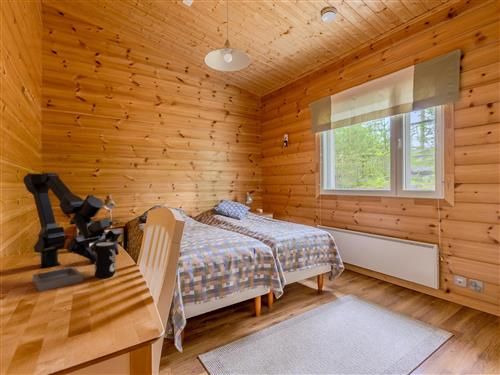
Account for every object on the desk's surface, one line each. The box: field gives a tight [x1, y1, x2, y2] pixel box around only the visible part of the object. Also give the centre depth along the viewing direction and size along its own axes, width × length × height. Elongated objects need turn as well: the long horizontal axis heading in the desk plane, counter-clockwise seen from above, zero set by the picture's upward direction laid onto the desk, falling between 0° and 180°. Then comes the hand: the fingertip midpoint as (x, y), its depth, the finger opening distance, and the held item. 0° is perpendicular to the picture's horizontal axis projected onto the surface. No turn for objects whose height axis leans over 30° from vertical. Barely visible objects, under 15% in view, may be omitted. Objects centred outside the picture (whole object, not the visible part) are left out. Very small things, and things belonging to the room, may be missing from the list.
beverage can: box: [94, 242, 116, 280], centre depth 96 cm, size 7×7×12 cm
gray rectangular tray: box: [32, 266, 84, 292], centre depth 91 cm, size 12×12×2 cm
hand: (107, 257), depth 96 cm, fingers open, 9 cm apart
